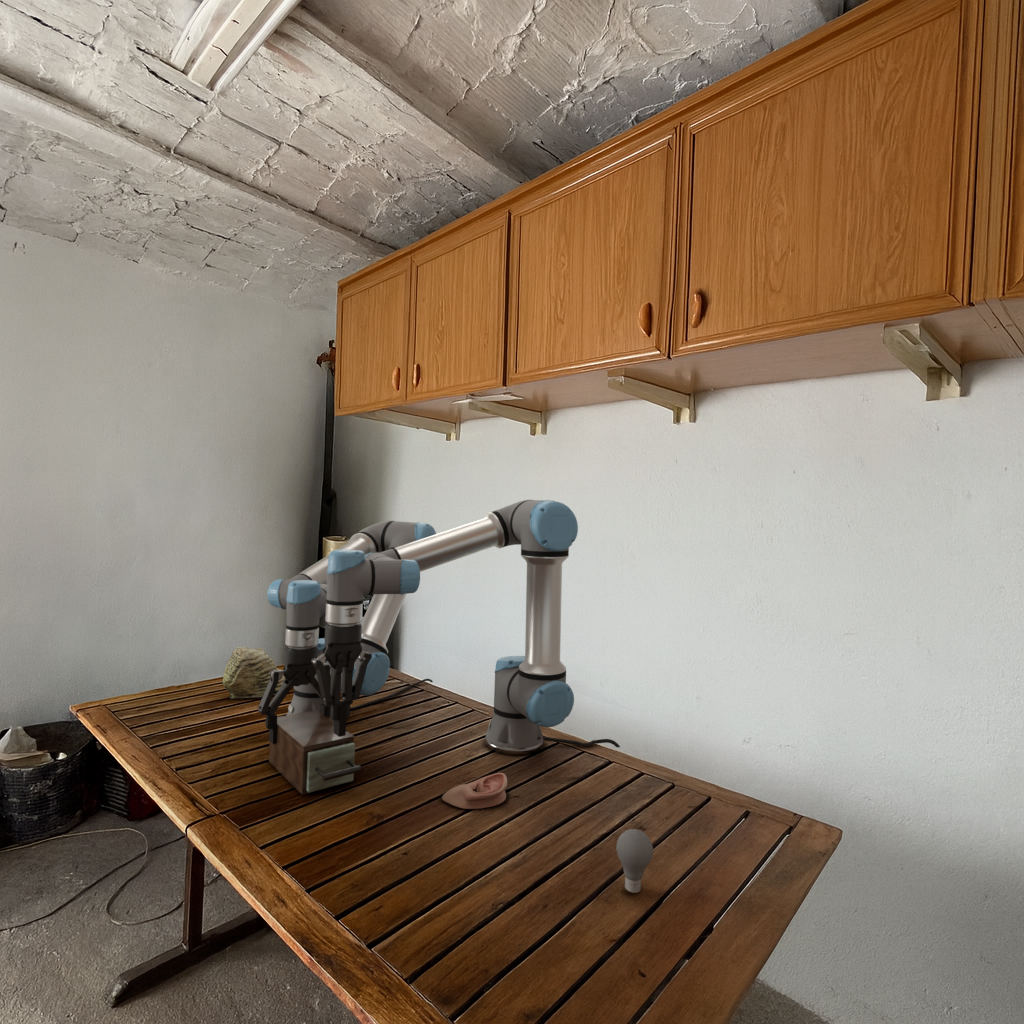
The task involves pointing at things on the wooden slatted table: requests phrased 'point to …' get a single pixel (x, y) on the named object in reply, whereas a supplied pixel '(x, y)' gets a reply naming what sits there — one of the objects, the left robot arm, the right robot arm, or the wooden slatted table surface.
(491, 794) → the anatomical model
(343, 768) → the drawer
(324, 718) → the cabinet
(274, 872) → the wooden slatted table surface
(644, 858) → the light bulb
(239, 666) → the fossil
